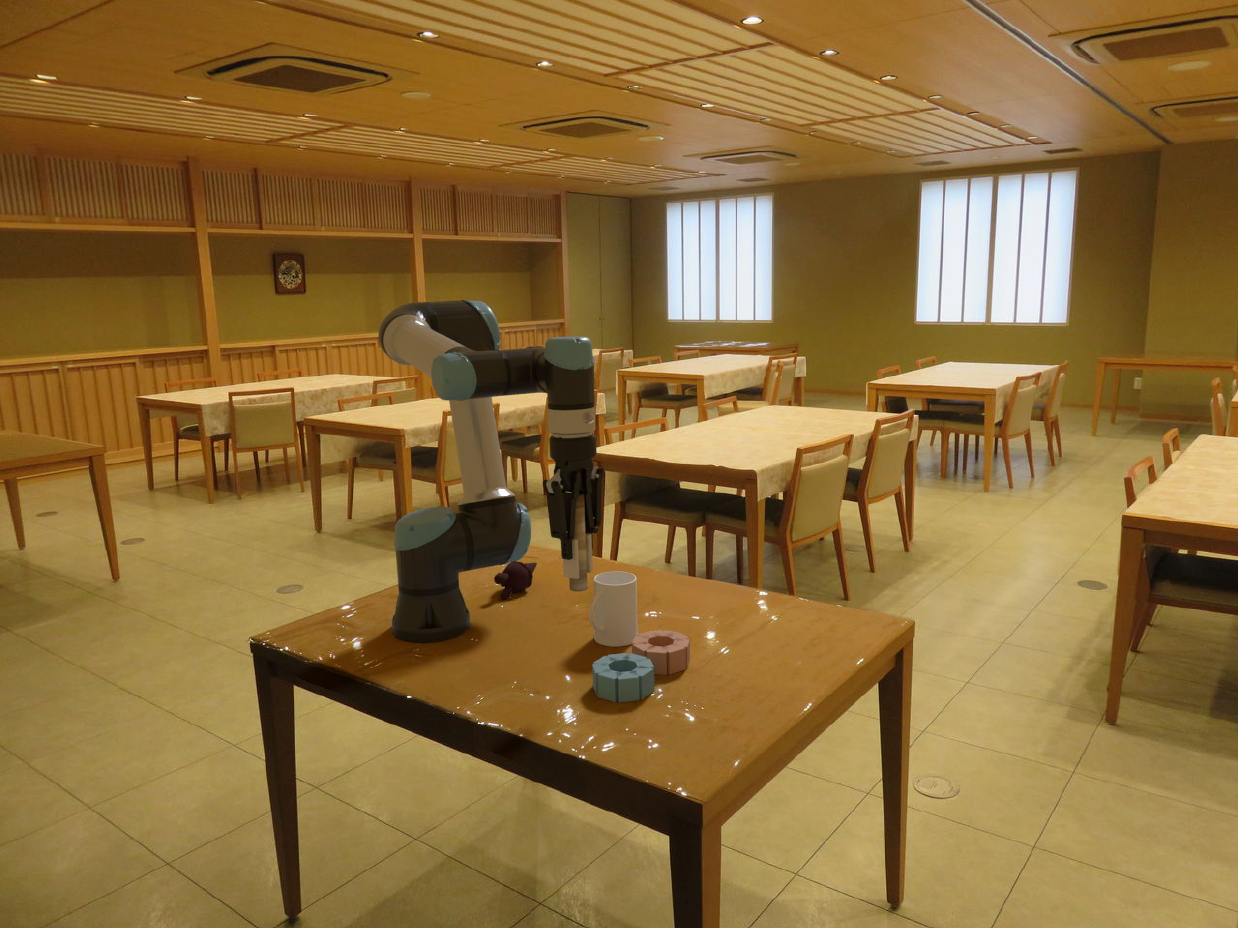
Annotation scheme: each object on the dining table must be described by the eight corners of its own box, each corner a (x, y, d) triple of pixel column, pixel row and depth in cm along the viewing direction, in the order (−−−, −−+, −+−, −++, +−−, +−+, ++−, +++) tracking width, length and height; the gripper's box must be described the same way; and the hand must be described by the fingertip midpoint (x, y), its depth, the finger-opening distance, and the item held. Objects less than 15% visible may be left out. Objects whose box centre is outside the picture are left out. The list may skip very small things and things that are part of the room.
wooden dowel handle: (565, 589, 149) (561, 495, 146) (577, 584, 152) (573, 491, 149) (580, 592, 148) (576, 497, 145) (591, 587, 150) (587, 493, 147)
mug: (605, 656, 163) (604, 593, 161) (572, 644, 169) (570, 583, 166) (648, 636, 172) (647, 576, 169) (615, 625, 177) (613, 567, 175)
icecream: (518, 550, 206) (479, 576, 193) (544, 547, 202) (506, 572, 189) (527, 579, 207) (489, 605, 194) (553, 575, 203) (516, 602, 190)
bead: (582, 692, 149) (581, 669, 149) (615, 670, 157) (615, 649, 156) (631, 707, 144) (631, 683, 143) (663, 683, 152) (663, 661, 151)
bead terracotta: (628, 672, 157) (628, 650, 156) (639, 649, 166) (638, 628, 165) (684, 676, 155) (684, 654, 154) (692, 652, 164) (692, 632, 163)
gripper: (559, 443, 136) (565, 591, 141) (620, 428, 149) (624, 564, 153) (521, 439, 141) (529, 583, 145) (584, 425, 153) (589, 558, 158)
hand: (578, 573), depth 149 cm, fingers closed on wooden dowel handle, 3 cm apart
